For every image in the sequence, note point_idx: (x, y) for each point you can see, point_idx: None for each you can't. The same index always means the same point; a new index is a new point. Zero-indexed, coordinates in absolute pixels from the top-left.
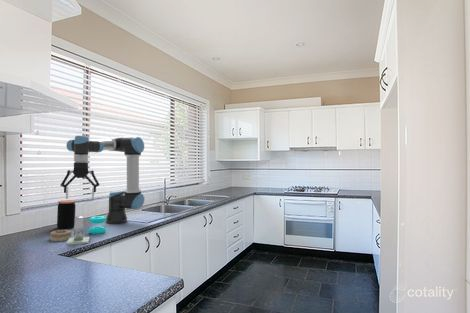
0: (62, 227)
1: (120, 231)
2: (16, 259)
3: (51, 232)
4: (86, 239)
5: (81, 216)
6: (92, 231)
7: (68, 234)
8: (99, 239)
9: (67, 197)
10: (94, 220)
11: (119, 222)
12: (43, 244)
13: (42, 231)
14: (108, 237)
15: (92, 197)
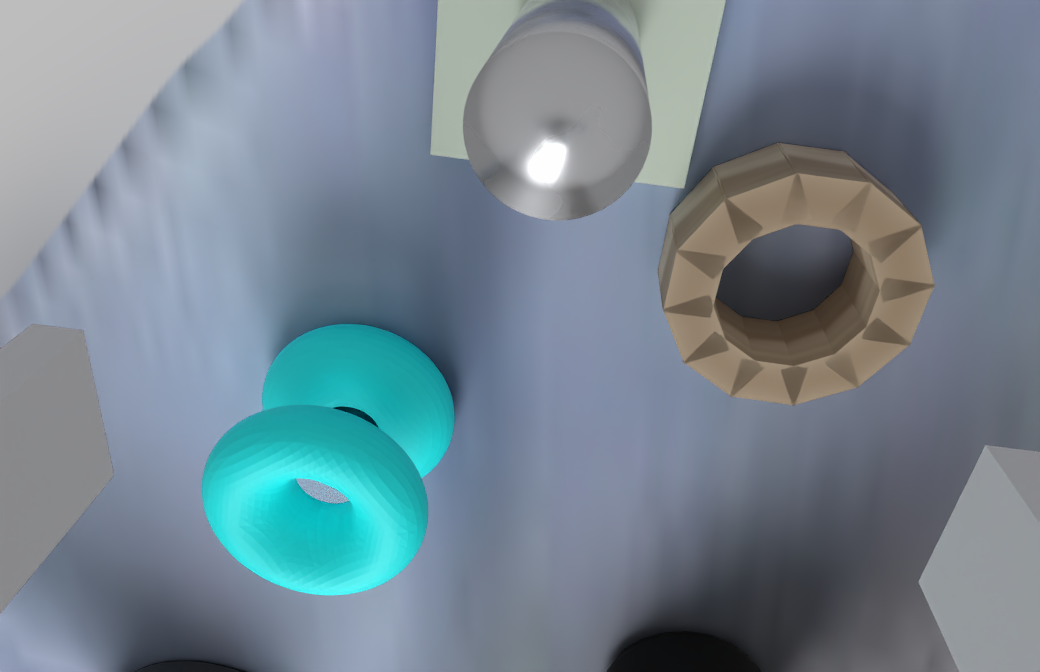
0: (723, 647)
1: (108, 356)
2: None
3: (917, 306)
4: (471, 8)
5: (516, 197)
6: (408, 353)
7: (702, 210)
8: (311, 44)
9: (995, 504)
10: (348, 429)
11: (172, 667)
12: (1023, 30)
13: (916, 614)
14: (207, 113)
15: (44, 346)
